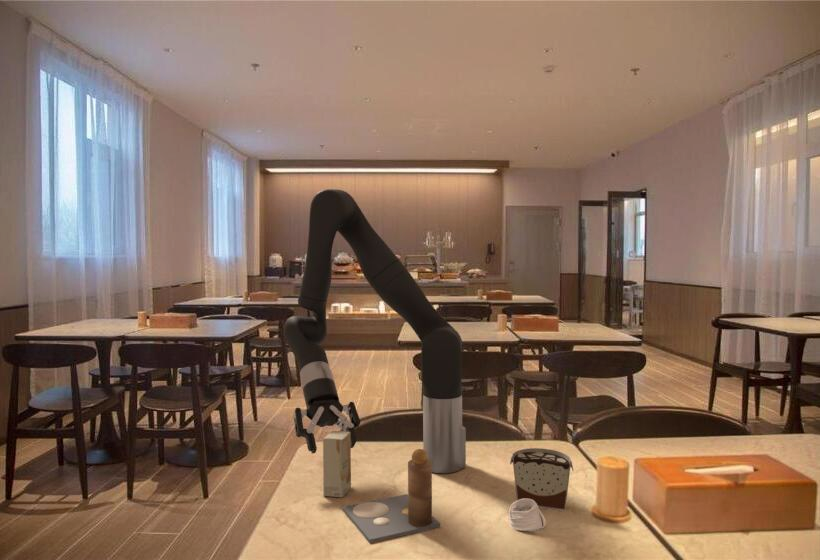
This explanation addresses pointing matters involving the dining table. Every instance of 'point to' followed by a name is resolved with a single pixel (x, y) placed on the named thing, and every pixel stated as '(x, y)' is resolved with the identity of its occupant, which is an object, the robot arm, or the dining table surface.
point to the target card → (384, 518)
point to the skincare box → (336, 463)
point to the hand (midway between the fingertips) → (333, 449)
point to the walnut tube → (420, 489)
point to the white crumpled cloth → (526, 515)
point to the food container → (542, 476)
